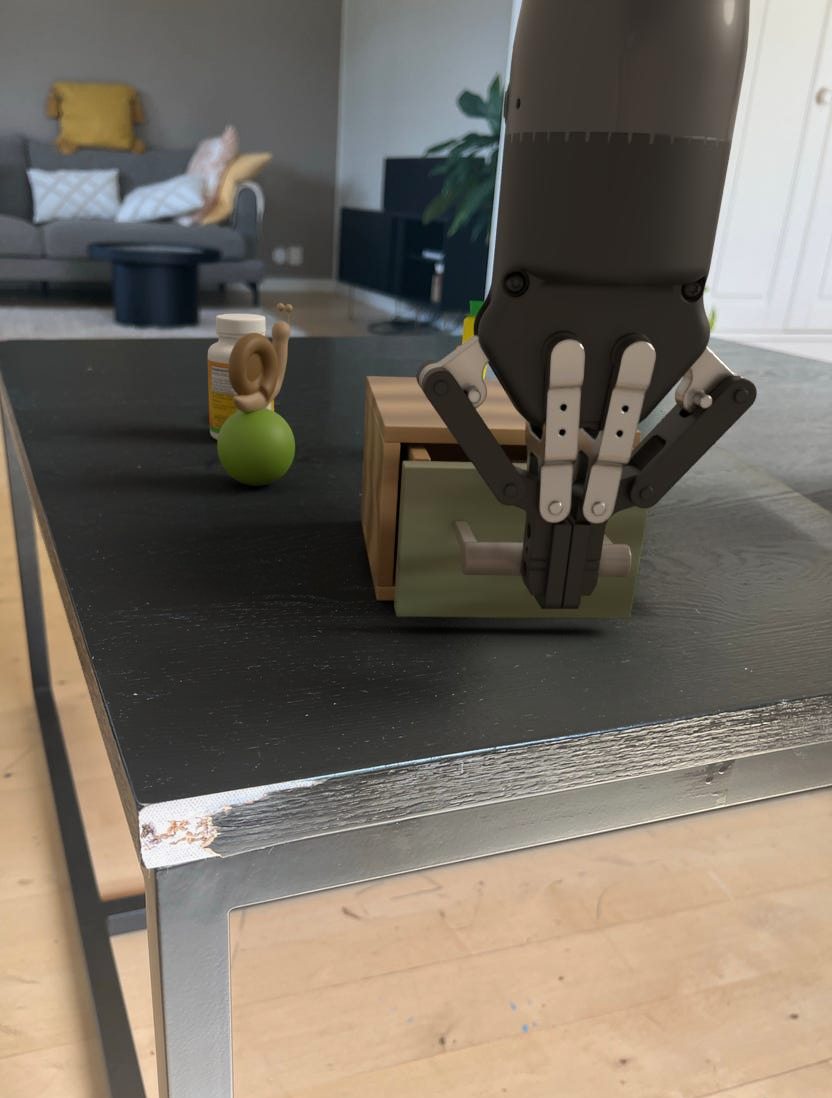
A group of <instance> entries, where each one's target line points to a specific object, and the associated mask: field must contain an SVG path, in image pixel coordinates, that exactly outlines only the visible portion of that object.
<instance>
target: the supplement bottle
mask: <svg viewBox="0 0 832 1098" xmlns="http://www.w3.org/2000/svg"><path fill="white" fill-rule="evenodd" d="M266 326H267V325H266V316H265V315H261V314H253V313H225V314H224V313H223V314H218V315H216V316H215V331H216V332H215V335H216V336H218V341H216V342H214V343H213V344H211V345H210V346H209V347H208V350H207V375H208V376H207V383H208V384H207V385H208V417H209V420H208V421H209V433H210V436H211V437H212V438H213V439H214V440H216V441H217V440H218V435H219V432H220V430H221V428H222V426H223V424H224V423H225V421H226V420H227V419H228V418H229V417H230V416H231V415H232V414H234V413H235V412H237V411H239V409H238V408H237V407H236V406H235V404H234V402H233V397H234V396H239V395H238V394H237V393H236V392H235V391H234V389H233V388H232V386H231V383H230V380H229V375H228V364H229V358H230V354H231V352H232V349H233V347H234V345H235V344H236V342H237V341H238V340H239V339H240V338H241V337H243V336H244V335H246V334H249V333H258V334H261V335H264V336H265V337H266V332H267V327H266ZM266 408H267V409H269V410H272V411H274V412H275V399H274V400H273V401H272V402H271V403H270V404H269V405H268V406H267V407H266Z"/></svg>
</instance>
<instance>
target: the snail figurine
mask: <svg viewBox="0 0 832 1098" xmlns="http://www.w3.org/2000/svg"><path fill="white" fill-rule="evenodd" d="M276 310H277V311H278V312H279V320H278V321H276V322H275V323H274V324H273V325H272V327H271V337H272V341H270V339H269V338H268V337H266V335H265V336H264V335H261V334H258V333H249V334H246V335H244V336H243V337H241V338H240V339H239V340H238V341H237V342H236V344H235V345H234V347H233V349H232V352H231V354H230V358H229V364H228V375H229V380H230V383H231V386H232V388H233V389H234V391H235V392H236V393H237V394H238V395H239V396H234V397H233V402H234V404H235V406H236V407H237V408H238V409H239V411H237V412H235V413H234V414H232V415H231V416H230V417H229V418H228V419H227V420H226V421H225V423H224V424H223V426H222V428H221V430H220V432H219V435H218V440H216V450H217V456H218V459H219V462H220V464H221V466H222V468H223V469H224V470H225V471H226V473H227V474H228V475H229V477H231V478H233V479H234V480H235V481H237V482H238V483H241V484H243V485H246V486H253V487H262V486H266V485H270V484H272V483H275V482H276V481H279V480H280V479H281V478H282V477H284V475H285V474H286V473H287V472H288V470H289V469H290V467H291V466H292V463H293V461H294V458H295V452H296V440H295V436H294V432H293V431H292V429H291V427H290V425H289V424H288V422H287V421H286V419H284V418H283V417H282V416H281V415H280V414H279V413H277V412H275V410H274V411H272V410H269V409H267V408H266V407H267V406H268V405H269V404H270V403H271V402H272V401H273V400H274V401H275V399H276V397H277V396H278V395H279V393H280V391H281V388H282V385H283V382H284V379H285V378H284V377H285V374H286V368H287V362H288V352H289V351H288V349H289V346H288V345H289V339H290V338H291V327H290V313H291V312H292V311H293V306H292V304H290V303H287V304H283V302H279V303H277V305H276ZM284 311H285V312H286V313H287V314H288V315H287V322H286V321H284V320H282V312H284Z"/></svg>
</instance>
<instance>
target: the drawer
mask: <svg viewBox="0 0 832 1098" xmlns="http://www.w3.org/2000/svg"><path fill="white" fill-rule="evenodd" d="M500 446H501V447H502V449H503V450H504V452H505V453H506V455H507V456H508V458H509V459H510V460H527V447H526V445H500ZM512 464H513V465H514V466H516V467H519V468H521V469H524V470H526V471H527V463H512ZM648 514H649V508H645V509H643V508H639V507H637V506H634V507H631V508H628V509H625V510H621V511H619V512H617V513H615V514H614V515H613V516H612V517H611V518H610V519H609V520H608V522H607V524H606V527H605V532H604V539H603V546H602V553H601V559H600V566H599V570H598V571H599V573H598V580H597V585H596V586H595V588H594V590H593V592H592V593H591V595H590V596H581V601H580V606H579V608H578V609H541V607H540V606H539V604H538V602H537V600H536V599H535V597H534V595H531V594H530V593H529V591H528V589H527V587H526V586H525V584H524V582H523V579H522V576H521V573H520V567H521V559H522V550H523V540H524V531H525V522H526V511H525V510H523V509H521V508H518V507H516V506H513V505H512V506H507V505H503V504H501V503H500V502H499V501H498V500H497V498H496V497H495V496H494V494H493V493H492V491H491V490H490V488H489V487H488V485H487V484H486V483H485V481H484V480H483V478H482V477H481V475H480V474H479V472H478V471H477V469H476V468H475V467H474V465H473V464H472V462H471V461H470V459H469V458H468V456H467V455H466V454H465V452H464V451H463V449H462V448H461V446H460V445H459V444H444V443H400V460H399V478H398V496H397V514H396V532H395V552H396V556H397V566H396V584H395V601H393V602H394V604H393V607H394V611H395V612H394V613H395V616H396V617H397V618H398V617H399V618H400V617H403V618H406V617H407V618H408V617H409V618H417V617H418V618H420V617H421V618H483V619H485V618H487V619H489V618H490V619H491V618H493V619H494V618H495V619H496V618H497V619H499V618H501V619H502V618H503V619H574V620H577V619H579V620H582V619H583V620H585V619H587V620H589V619H591V620H630V619H631V615H632V609H633V605H634V603H633V602H634V598H635V597H634V596H635V591H636V586H637V579H638V574H639V568H640V561H641V555H642V551H643V550H642V549H643V544H644V537H645V531H646V525H647V519H648Z"/></svg>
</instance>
